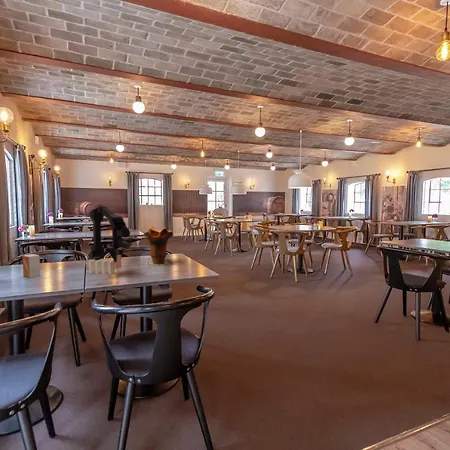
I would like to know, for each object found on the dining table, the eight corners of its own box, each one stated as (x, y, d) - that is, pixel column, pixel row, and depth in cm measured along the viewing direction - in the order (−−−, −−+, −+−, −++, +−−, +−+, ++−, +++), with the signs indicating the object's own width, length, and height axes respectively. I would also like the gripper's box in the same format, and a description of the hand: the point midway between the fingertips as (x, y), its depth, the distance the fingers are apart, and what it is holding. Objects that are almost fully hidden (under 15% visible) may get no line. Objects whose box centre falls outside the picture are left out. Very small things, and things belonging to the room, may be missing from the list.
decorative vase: (170, 258, 248) (169, 223, 245) (175, 266, 227) (174, 227, 223) (142, 260, 242) (141, 224, 238) (145, 268, 220) (144, 228, 216)
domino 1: (93, 271, 206) (93, 259, 205) (95, 271, 206) (95, 259, 205) (88, 273, 201) (88, 260, 200) (91, 273, 201) (90, 260, 200)
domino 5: (118, 266, 202) (118, 254, 202) (121, 267, 202) (120, 254, 201) (114, 268, 197) (114, 255, 197) (117, 268, 197) (116, 255, 197)
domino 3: (106, 272, 204) (105, 259, 204) (108, 272, 204) (108, 260, 203) (101, 274, 199) (101, 261, 199) (104, 274, 199) (103, 261, 198)
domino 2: (99, 271, 205) (99, 259, 204) (102, 272, 205) (101, 259, 204) (95, 273, 200) (94, 261, 200) (97, 273, 200) (97, 261, 199)
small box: (23, 276, 193) (22, 255, 192) (34, 274, 198) (33, 253, 197) (29, 278, 188) (28, 256, 187) (40, 276, 194) (39, 255, 193)
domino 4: (112, 272, 203) (112, 260, 203) (114, 272, 203) (114, 260, 203) (108, 274, 199) (107, 261, 198) (110, 274, 198) (110, 261, 198)
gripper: (121, 238, 188) (122, 264, 189) (136, 235, 206) (136, 259, 207) (104, 238, 190) (105, 264, 191) (120, 235, 208) (120, 258, 209)
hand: (117, 261), depth 199 cm, fingers closed on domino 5, 5 cm apart
